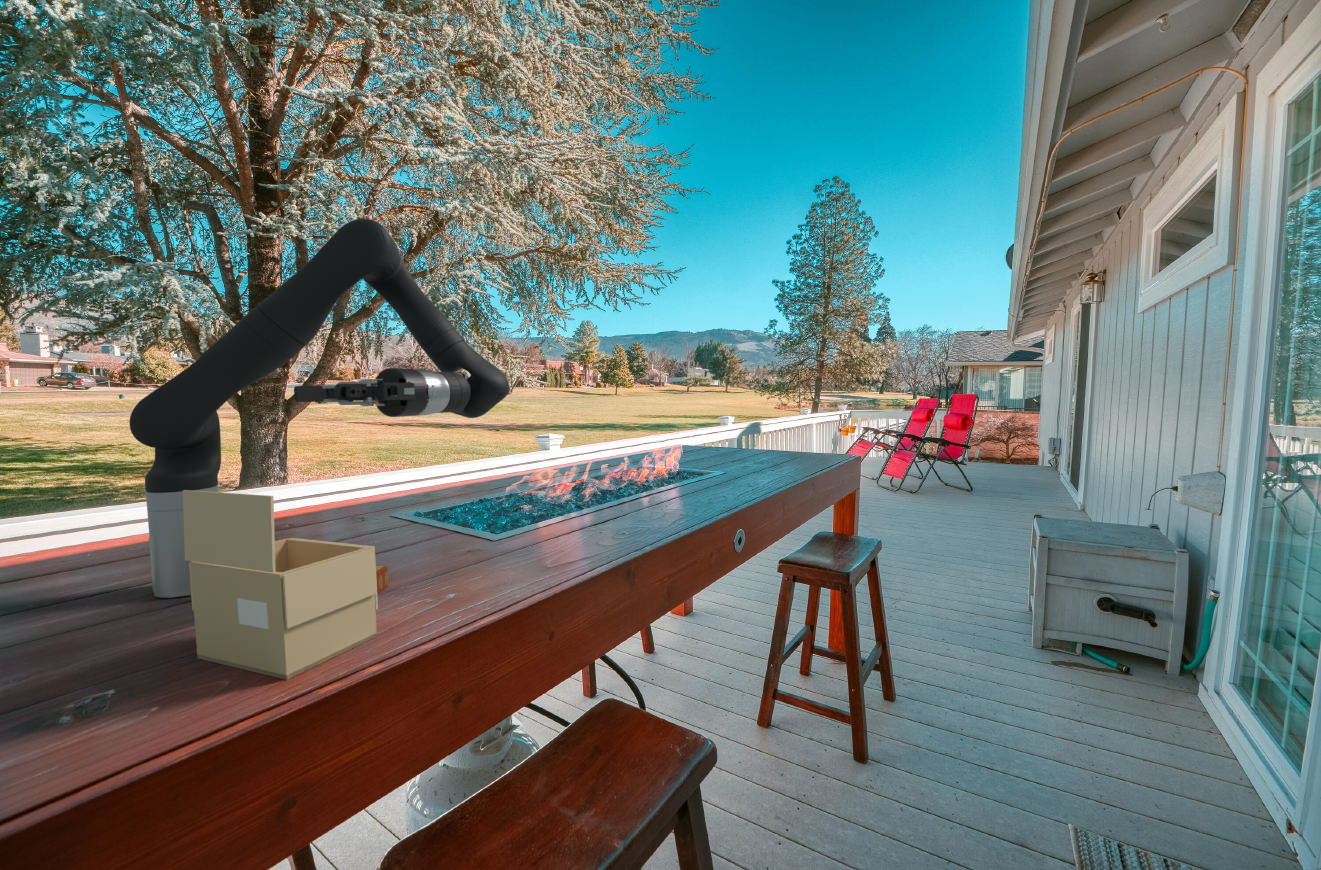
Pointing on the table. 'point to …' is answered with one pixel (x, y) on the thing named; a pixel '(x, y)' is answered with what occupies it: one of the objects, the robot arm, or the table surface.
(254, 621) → the kraft box
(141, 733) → the table surface
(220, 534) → the near flap
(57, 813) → the table surface
